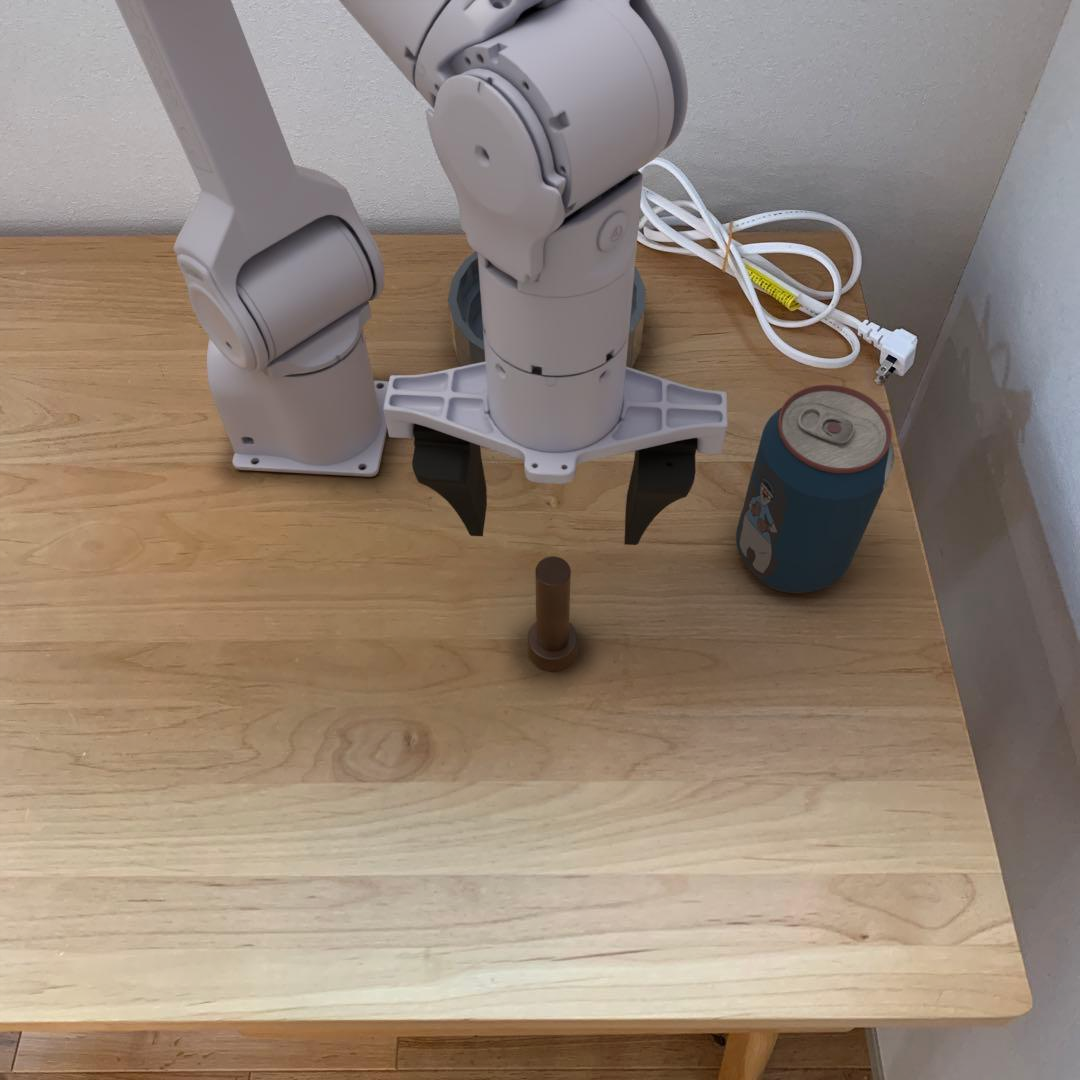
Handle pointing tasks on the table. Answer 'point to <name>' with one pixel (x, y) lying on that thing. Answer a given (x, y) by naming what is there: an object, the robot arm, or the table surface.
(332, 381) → the robot arm
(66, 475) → the table surface
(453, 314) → the bowl
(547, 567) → the muddler
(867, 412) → the soda can
